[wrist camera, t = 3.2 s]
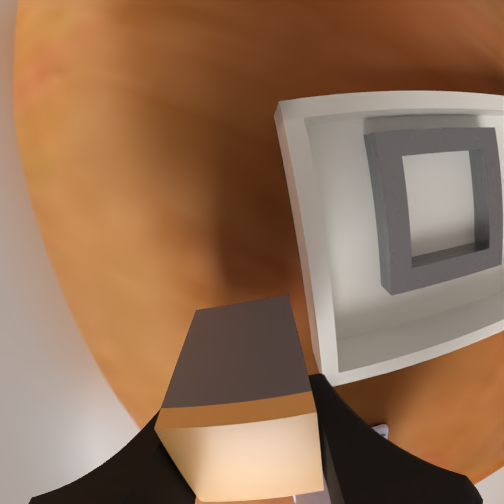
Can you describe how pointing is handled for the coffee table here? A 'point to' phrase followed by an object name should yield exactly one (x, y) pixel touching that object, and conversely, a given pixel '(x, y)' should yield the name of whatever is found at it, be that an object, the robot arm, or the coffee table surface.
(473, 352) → the coffee table surface
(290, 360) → the block
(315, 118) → the walled box
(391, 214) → the inlet
